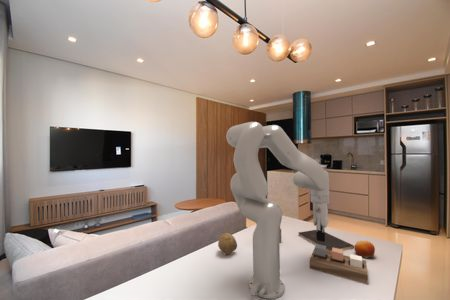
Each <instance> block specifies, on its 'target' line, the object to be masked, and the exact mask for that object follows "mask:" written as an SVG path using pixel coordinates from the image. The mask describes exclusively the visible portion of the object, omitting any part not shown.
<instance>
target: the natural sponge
mask: <svg viewBox="0 0 450 300" xmlns="http://www.w3.org/2000/svg"><path fill="white" fill-rule="evenodd" d="M217 246H218V248H219V250H220V251H221V253H223V254H224V255H226V256H229V255H231V254H232V253H233V252H235V251H236V250H237V248H238V242H237V240H236V238H235V237H234V235H233V234H232V233H229V232H224V233H223V234H222V235H220V237H219V240H218V243H217Z"/></svg>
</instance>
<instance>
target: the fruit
mask: <svg viewBox="0 0 450 300" xmlns="http://www.w3.org/2000/svg"><path fill="white" fill-rule="evenodd" d="M353 249H354V251H355V253H356V255H357V256H362V258H366V259H368V258H373V259H375V257H374V255H375V251H376V248H375V246H374V244H373V243H372V242H370V241H368V240H360V241H357V242H356V243H355V244H354V248H353Z"/></svg>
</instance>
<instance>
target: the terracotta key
mask: <svg viewBox="0 0 450 300" xmlns="http://www.w3.org/2000/svg"><path fill="white" fill-rule="evenodd" d="M343 255H344V250H342V249H338V248H333V247H332V259H336V260H340V261H343Z"/></svg>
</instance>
